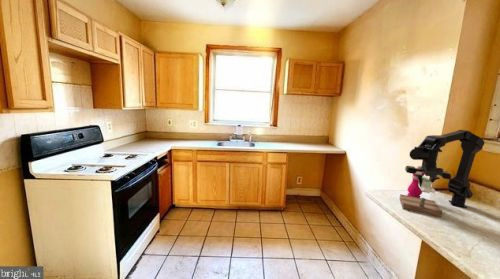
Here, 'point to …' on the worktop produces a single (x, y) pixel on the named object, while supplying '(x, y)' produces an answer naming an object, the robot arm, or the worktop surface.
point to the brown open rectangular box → (420, 205)
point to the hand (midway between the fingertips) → (424, 187)
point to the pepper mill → (415, 186)
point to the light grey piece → (426, 185)
